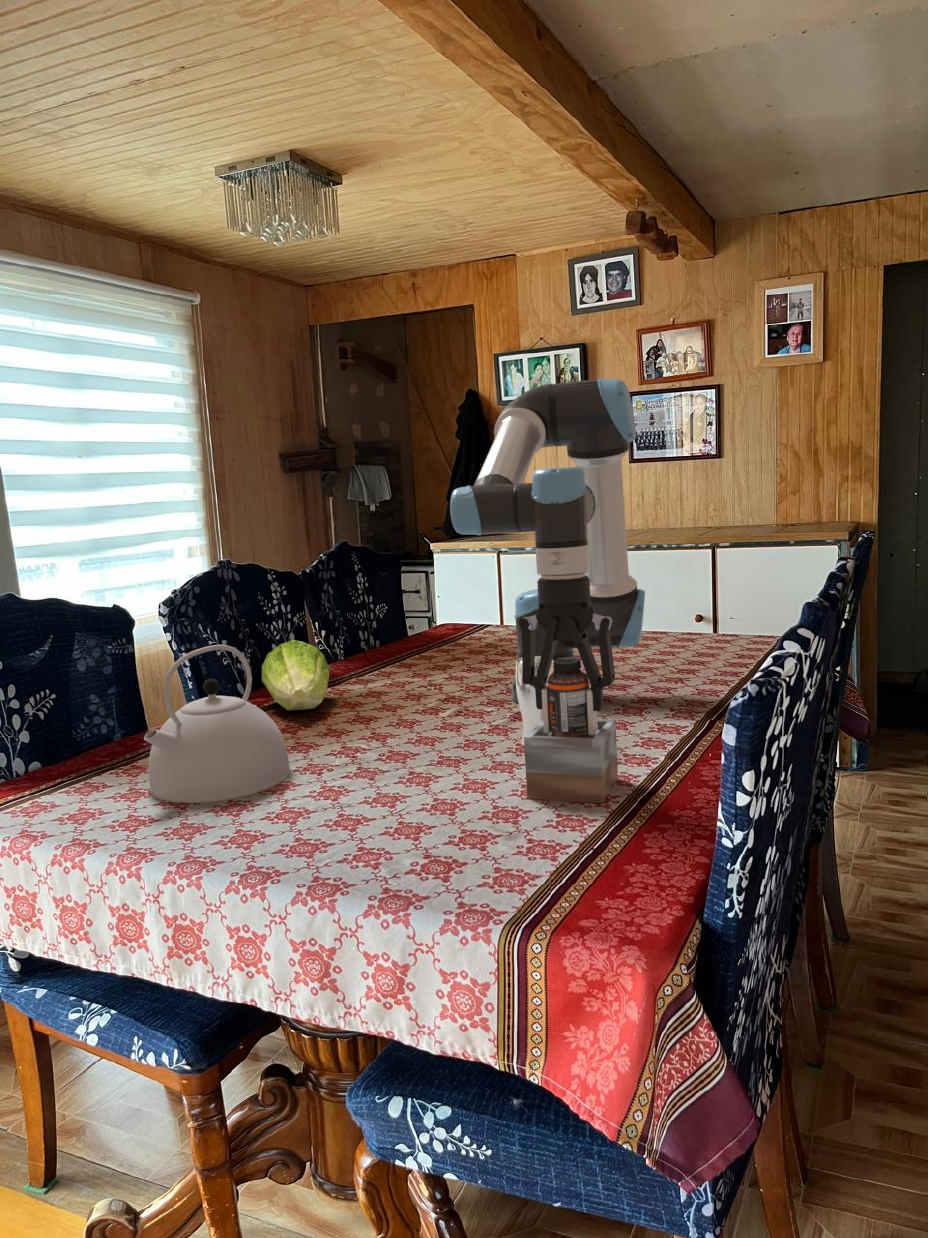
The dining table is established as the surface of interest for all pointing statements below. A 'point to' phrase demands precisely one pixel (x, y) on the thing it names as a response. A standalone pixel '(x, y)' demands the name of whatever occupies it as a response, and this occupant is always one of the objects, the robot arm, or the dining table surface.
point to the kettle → (215, 746)
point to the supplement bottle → (568, 698)
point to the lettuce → (296, 675)
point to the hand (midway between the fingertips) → (570, 730)
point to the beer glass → (528, 698)
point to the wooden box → (571, 764)
